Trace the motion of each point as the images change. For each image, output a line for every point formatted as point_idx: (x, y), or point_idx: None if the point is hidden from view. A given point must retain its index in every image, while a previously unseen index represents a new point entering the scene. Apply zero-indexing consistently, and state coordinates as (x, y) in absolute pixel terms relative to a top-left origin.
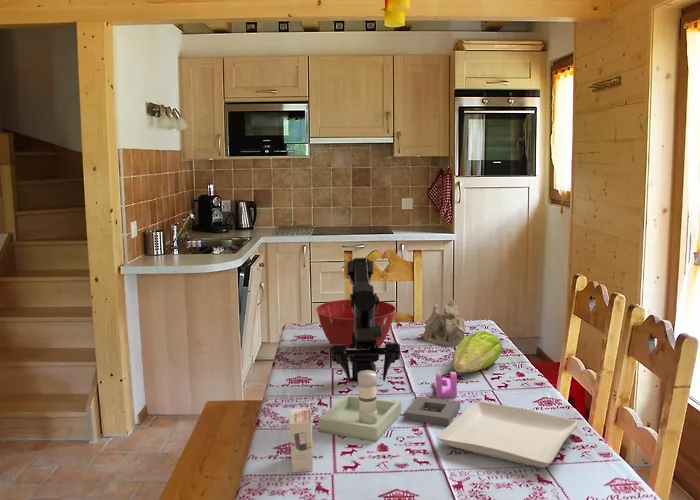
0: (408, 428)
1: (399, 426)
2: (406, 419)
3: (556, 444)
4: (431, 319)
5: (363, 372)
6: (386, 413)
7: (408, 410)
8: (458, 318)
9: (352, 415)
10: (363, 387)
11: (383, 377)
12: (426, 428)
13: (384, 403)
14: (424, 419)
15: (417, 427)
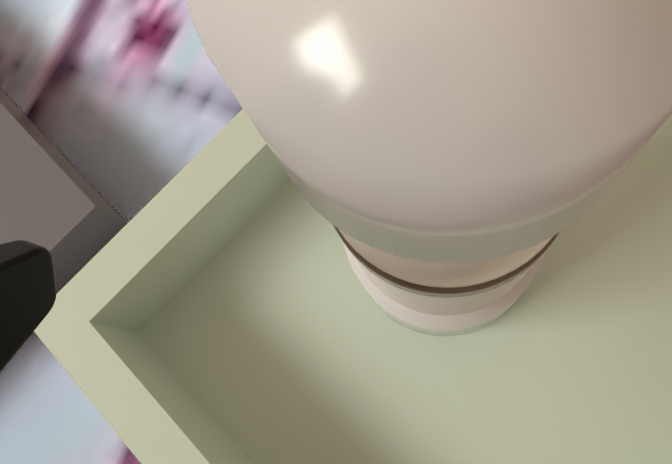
0: (184, 65)
1: (226, 119)
2: (116, 213)
3: None
4: None
5: (532, 3)
6: None
7: (45, 229)
8: None
9: (546, 439)
10: None
11: (15, 257)
12: (75, 27)
13: (175, 412)
14: (15, 110)
15: (119, 60)
